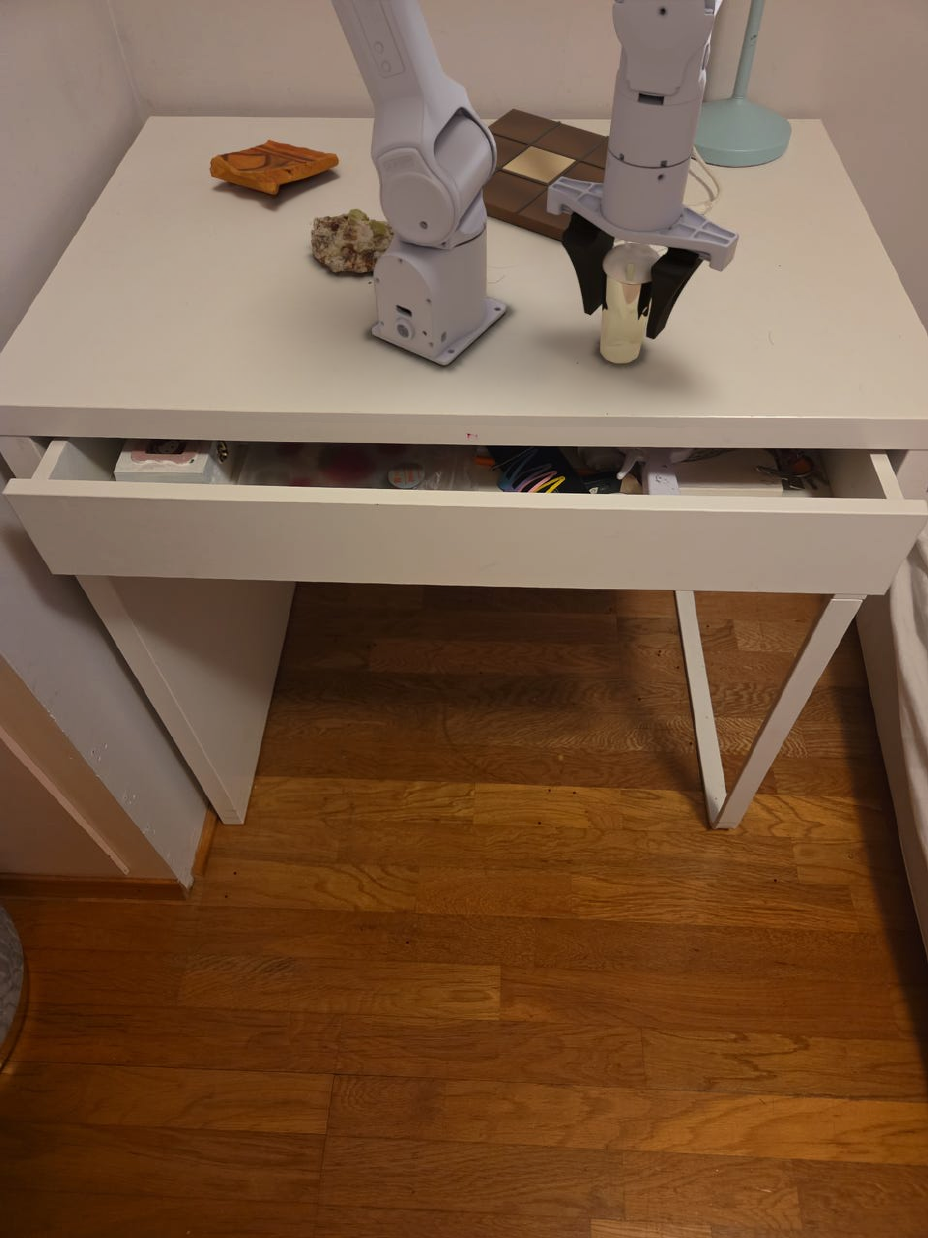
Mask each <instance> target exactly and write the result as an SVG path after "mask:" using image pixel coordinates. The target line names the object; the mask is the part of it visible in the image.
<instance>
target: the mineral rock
mask: <svg viewBox="0 0 928 1238" xmlns="http://www.w3.org/2000/svg"><path fill="white" fill-rule="evenodd" d="M312 227H313V229H312V230H311V232H310V235H311V237H310V238H311V240H310V242H311V246H312V253H313V256H314V257H315V258H316V259H317V260H319V262H320V263H322V264H324V265H325V266H327V267H328V269H330V270H331V272H333V273H335V274H336V273H338V272H353V273H358V274H362V273H367V272H372V273H373V272H374V267H375V264H376V263H377V261H378V260H379V258H380V257H381V256H382V255H383V254H384V253H385V251H386V250H387V248H388V247H389V245H390V244H391V241H392V239H393V236H394V232H395V231H394V230H393V228H392V227H391V226H390V225H389V223H388V221H387V220H386V221H385V220H384V221H383V220H376V219H375V218H373V219H372V218H370V217H368V215H367V213H365V212H364V211H362V210H361V209H359V208H353V209H350V210H349V211H348V213H342V214H340V215H335V216H330V215H325V216H323V217H317V216H316V217H315V218H314V219H313V226H312Z"/></svg>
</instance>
